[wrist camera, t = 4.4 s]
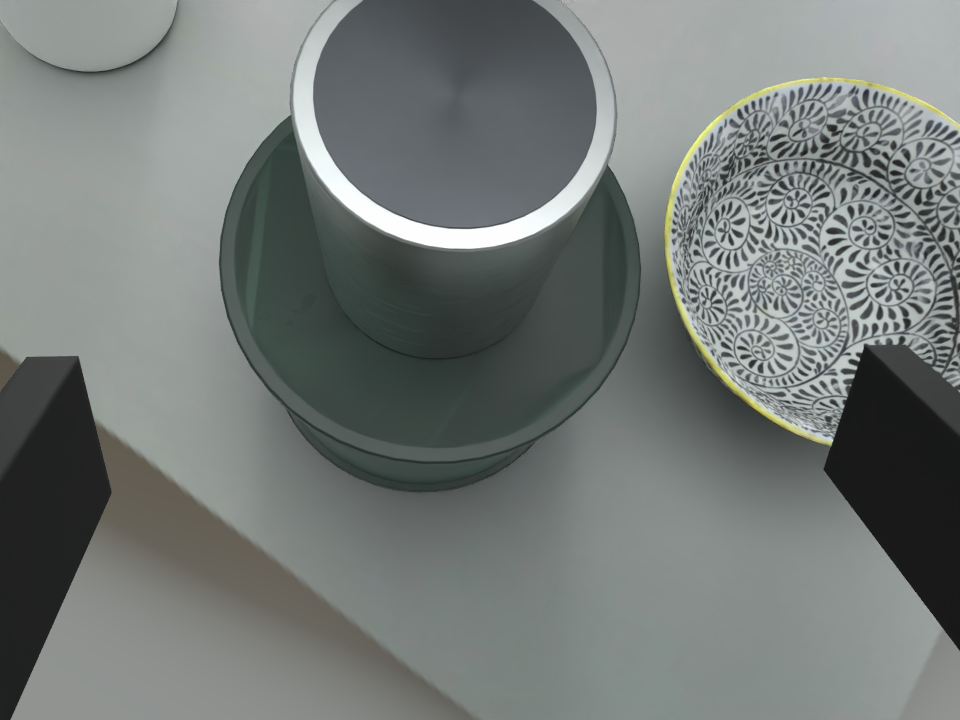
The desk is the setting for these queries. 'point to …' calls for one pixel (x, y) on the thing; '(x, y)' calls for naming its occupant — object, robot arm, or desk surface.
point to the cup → (88, 30)
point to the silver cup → (448, 159)
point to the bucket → (408, 379)
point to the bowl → (817, 243)
